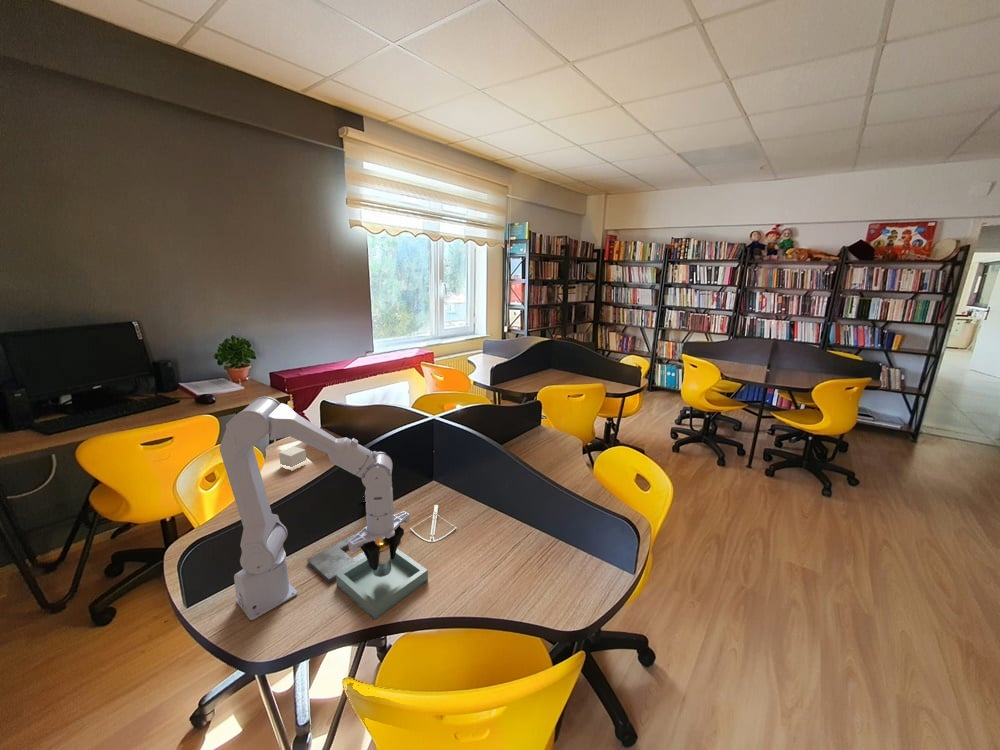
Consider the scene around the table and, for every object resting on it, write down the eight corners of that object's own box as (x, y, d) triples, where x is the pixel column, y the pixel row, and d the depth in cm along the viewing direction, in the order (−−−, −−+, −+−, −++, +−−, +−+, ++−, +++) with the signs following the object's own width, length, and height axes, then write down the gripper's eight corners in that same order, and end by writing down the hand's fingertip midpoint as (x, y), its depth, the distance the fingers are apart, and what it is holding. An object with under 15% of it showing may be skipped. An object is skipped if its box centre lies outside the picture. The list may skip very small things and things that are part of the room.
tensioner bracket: (329, 583, 92) (328, 579, 92) (307, 563, 98) (307, 559, 98) (400, 541, 107) (400, 537, 107) (378, 525, 113) (377, 522, 113)
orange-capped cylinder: (379, 579, 89) (378, 552, 88) (369, 571, 92) (367, 544, 90) (394, 570, 92) (393, 543, 90) (384, 562, 95) (383, 535, 93)
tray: (374, 620, 83) (373, 608, 82) (336, 585, 91) (335, 574, 91) (427, 580, 94) (427, 569, 93) (389, 553, 102) (389, 543, 102)
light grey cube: (292, 471, 141) (290, 456, 140) (280, 467, 144) (278, 452, 142) (306, 464, 147) (305, 449, 145) (295, 461, 149) (294, 446, 148)
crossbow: (455, 546, 108) (455, 539, 108) (407, 547, 107) (407, 540, 106) (457, 508, 123) (457, 502, 123) (415, 509, 122) (415, 503, 122)
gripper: (360, 532, 80) (364, 589, 83) (417, 501, 91) (418, 553, 94) (341, 518, 84) (345, 573, 88) (398, 490, 95) (399, 540, 99)
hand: (382, 562), depth 91 cm, fingers closed on orange-capped cylinder, 4 cm apart
